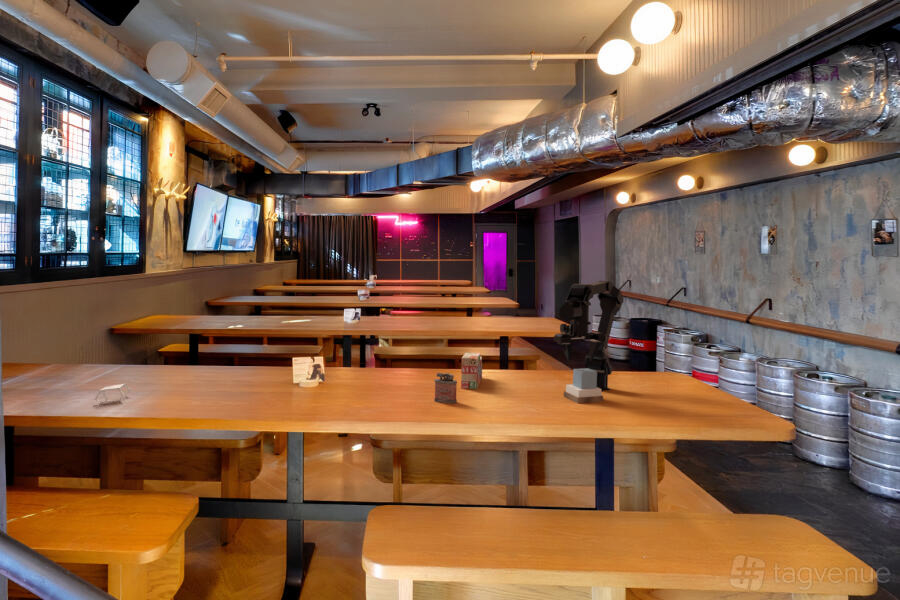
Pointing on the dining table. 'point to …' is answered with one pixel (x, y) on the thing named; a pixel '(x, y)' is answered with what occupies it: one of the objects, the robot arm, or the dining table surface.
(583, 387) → the slate block
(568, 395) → the tower bottom
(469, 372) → the printed cardboard box
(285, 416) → the dining table surface
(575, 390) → the tower top
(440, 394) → the lighter
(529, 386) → the dining table surface
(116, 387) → the origami figure
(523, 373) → the dining table surface
